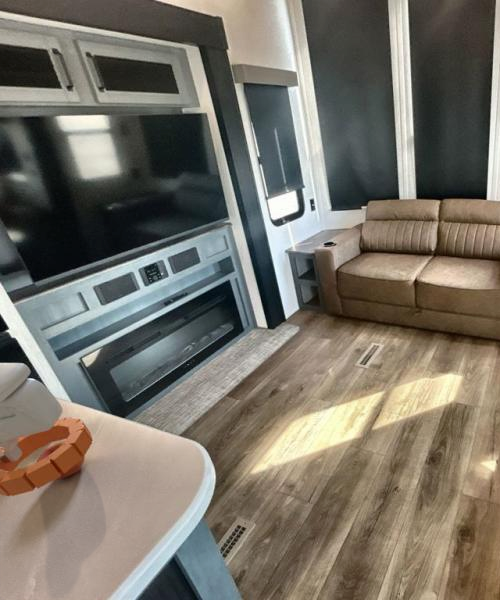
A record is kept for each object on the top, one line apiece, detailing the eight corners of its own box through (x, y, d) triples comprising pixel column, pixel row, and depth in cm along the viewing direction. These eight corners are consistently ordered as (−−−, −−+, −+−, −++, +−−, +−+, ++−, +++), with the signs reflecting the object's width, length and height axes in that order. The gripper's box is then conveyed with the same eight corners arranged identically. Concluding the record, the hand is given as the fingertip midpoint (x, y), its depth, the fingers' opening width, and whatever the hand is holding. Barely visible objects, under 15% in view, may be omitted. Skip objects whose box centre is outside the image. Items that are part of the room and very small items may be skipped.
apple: (86, 451, 82) (66, 426, 78) (97, 465, 78) (78, 440, 74) (45, 477, 77) (23, 451, 73) (55, 493, 73) (32, 467, 69)
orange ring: (-27, 506, 51) (-41, 493, 49) (26, 442, 61) (15, 429, 59) (69, 480, 53) (58, 467, 52) (104, 422, 63) (96, 409, 62)
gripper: (-186, 433, 44) (-101, 503, 50) (10, 388, 48) (66, 458, 54) (-134, 398, 49) (-63, 465, 56) (38, 360, 53) (86, 427, 60)
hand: (2, 462), depth 55 cm, fingers closed on orange ring, 2 cm apart
